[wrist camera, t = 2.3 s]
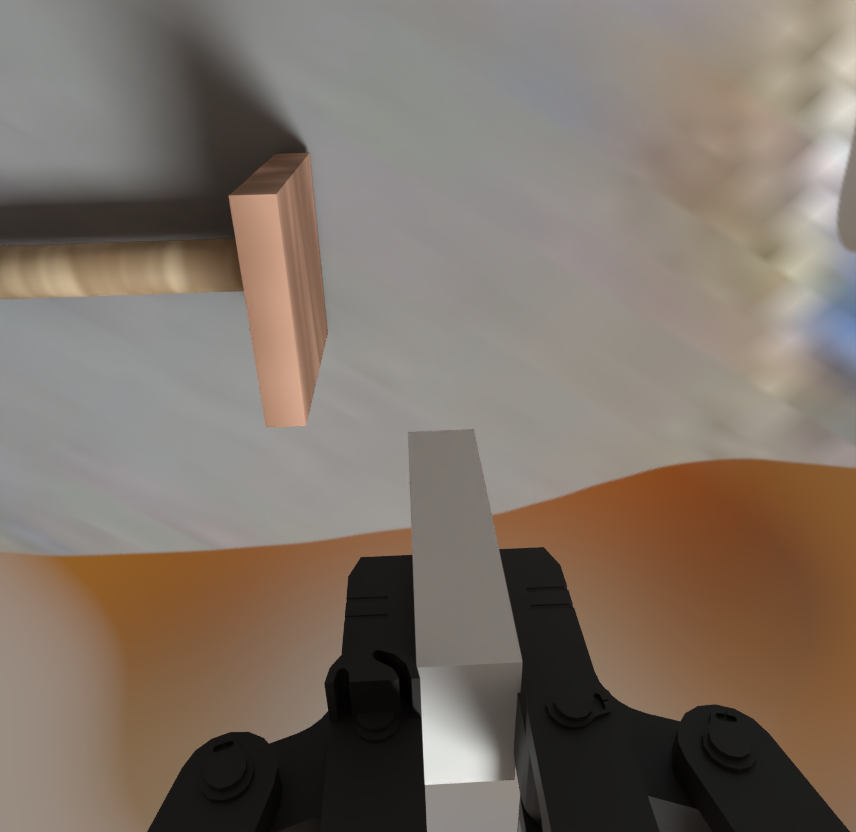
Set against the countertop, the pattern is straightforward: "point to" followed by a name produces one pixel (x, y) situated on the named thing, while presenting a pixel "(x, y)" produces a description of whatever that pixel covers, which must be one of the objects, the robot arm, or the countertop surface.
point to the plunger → (217, 277)
